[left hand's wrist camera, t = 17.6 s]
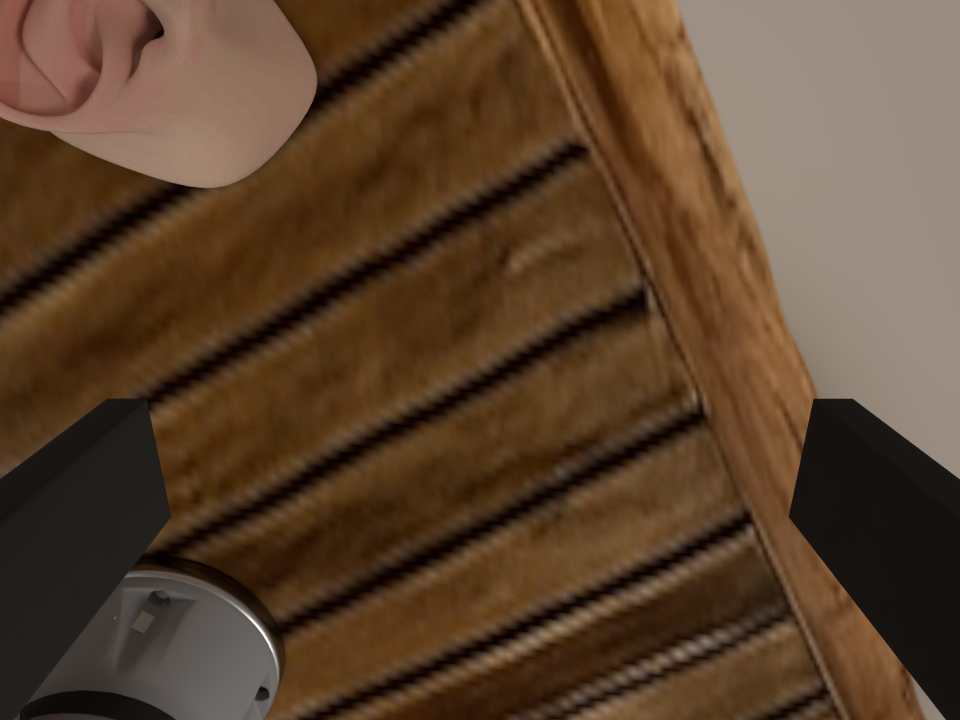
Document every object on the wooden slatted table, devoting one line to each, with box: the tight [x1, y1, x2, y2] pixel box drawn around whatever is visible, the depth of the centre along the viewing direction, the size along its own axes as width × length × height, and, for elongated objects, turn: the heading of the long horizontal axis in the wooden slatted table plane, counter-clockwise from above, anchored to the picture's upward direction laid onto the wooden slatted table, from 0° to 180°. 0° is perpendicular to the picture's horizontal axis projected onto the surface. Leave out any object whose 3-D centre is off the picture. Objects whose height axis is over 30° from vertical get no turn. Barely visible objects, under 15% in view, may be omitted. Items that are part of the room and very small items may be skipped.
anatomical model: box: [0, 0, 317, 188], centre depth 28 cm, size 13×4×12 cm
